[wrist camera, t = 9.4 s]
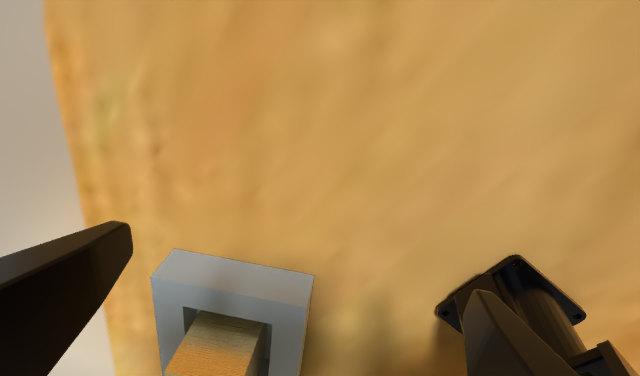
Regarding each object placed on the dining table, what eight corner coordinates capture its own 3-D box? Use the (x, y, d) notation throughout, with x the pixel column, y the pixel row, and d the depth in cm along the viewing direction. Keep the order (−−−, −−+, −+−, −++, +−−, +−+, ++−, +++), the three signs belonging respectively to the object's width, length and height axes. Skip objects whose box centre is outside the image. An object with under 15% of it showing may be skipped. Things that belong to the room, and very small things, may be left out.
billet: (269, 308, 25) (238, 391, 20) (266, 350, 28) (238, 437, 22) (208, 296, 26) (162, 374, 20) (209, 339, 28) (168, 421, 22)
